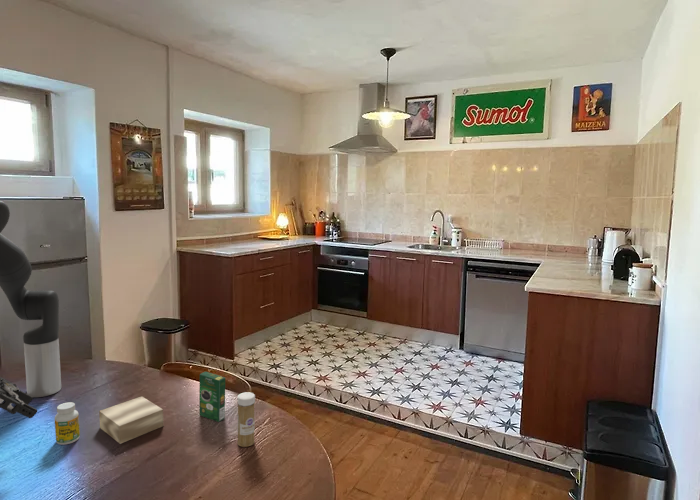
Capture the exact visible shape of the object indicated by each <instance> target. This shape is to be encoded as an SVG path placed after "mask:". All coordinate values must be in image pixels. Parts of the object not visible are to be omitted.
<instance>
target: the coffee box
mask: <svg viewBox="0 0 700 500" xmlns="http://www.w3.org/2000/svg"><path fill="white" fill-rule="evenodd" d="M198 403H199V410H198V411H199V412H198V413H199V416H200V417H202V418H207V419H209V420H212V421H213V422H217V423H220V422H221V421H223V420H225V419H226V418H225V417H226V415H225V414H226V377H224V376H222V375H218V374H215V373H212V372H209V371H204V372H201V373H200V374H199V402H198Z"/></svg>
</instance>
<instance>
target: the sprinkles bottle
mask: <svg viewBox="0 0 700 500" xmlns="http://www.w3.org/2000/svg"><path fill="white" fill-rule="evenodd" d="M236 397H237V399H236V401H237V443H236V444H237V445H238V446H239V447H242V448H246V447H247V448H248V447H250V446H251V447H252V445H254V444H255V441H256V440H255V421H256V420H255V402H256V394H254V392H249V391H248V392H246V391H244V392H242V393H239V394H238V395H237V396H236Z"/></svg>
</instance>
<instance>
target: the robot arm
mask: <svg viewBox="0 0 700 500" xmlns="http://www.w3.org/2000/svg"><path fill="white" fill-rule="evenodd" d="M10 215H11V213H10V208H9V206H8V204H7V203H6V202H4V201H2V200H0V288H1V289H2V291H3V293H4V294H5V296H6V298H7V300H8V302H9V304H10V307H11V308H12V310H13V311H14V314H15V315H16V316H17V318H18V319H20V320H25V321H40V320H42V324H41V325H40V326H38V327H34V328H31V329H29V330H27V331H26V332H24V333H23V336H22V339H23V352H24V353H23V354H24V365H25V367H24V369H25V386H26V392H24V391H22V390H21V389H20V387H18V385H17V384H16V383H13V381H9V380H7V379H5V378H4V377H1V376H0V409H2V410H4V411H6V412H8V413H10V414H11V415H16V413H18V414H20V415H21V416H24V417H26V418H28V419H32V418H33V417H34V416H35V415H36V414H37V413H38V409H37V408H35V407H33V406H31V405H29V404H30V402H31V401H33V398H42V397H47V396H50V395H54V394H56V393H58V392H60V391H61V389H62V378H61V377H62V375H61V358H60V343H59V342H60V340H59V338H60V337H59V332H60V330H59V329H60V325H59V324H60V320H59V317H60V314H59V312H60V311H59V309H60V302H59V300H60V299H59V296H58V294H57V292H56V291H54V290H49V289H48V290H30V289H29V290H28V289H26V288H25V286H26V285H27V282H28V281H29V280H30V277H31V275H32V272H33V267H32V265H31V262H30V260H29V259H28V257H27V255H26V254H25V252H24V251H23V249H21V247H19V245H17V244H16V243H15V242H13V241H12V240H11V239H9V238H8V237H7V236H5V235H4V234H2V232H3V230H4V229H5V228H6V226H7V224H8V223H9V220H10ZM12 404H13V405H14V406H13V405H12Z"/></svg>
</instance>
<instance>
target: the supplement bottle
mask: <svg viewBox="0 0 700 500" xmlns="http://www.w3.org/2000/svg"><path fill="white" fill-rule="evenodd" d="M56 412H57V413H56V415H55V416H54V429H55V430H54V431H55V432H54V433H55V443H56V444H58V445H59V446H60V445H62V446H63V445H70V444H73V443H74V442H76V441H78V440H79V439H80V436H81V433H80V432H81V431H80V414H79V411H78V410H76V403H74V402H71V401H70V402H64V403H60V404H59V405H57V406H56Z"/></svg>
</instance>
